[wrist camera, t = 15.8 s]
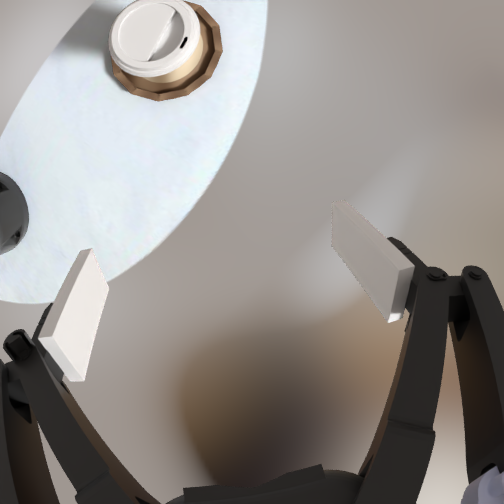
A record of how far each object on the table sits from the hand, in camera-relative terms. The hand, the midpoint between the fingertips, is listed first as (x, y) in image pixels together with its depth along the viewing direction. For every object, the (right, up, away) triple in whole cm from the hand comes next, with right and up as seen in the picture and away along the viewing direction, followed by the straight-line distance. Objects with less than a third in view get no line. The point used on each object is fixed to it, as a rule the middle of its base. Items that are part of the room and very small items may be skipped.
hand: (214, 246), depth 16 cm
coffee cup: (-10, +28, +19) cm, 35 cm away
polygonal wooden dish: (-10, +29, +20) cm, 36 cm away
